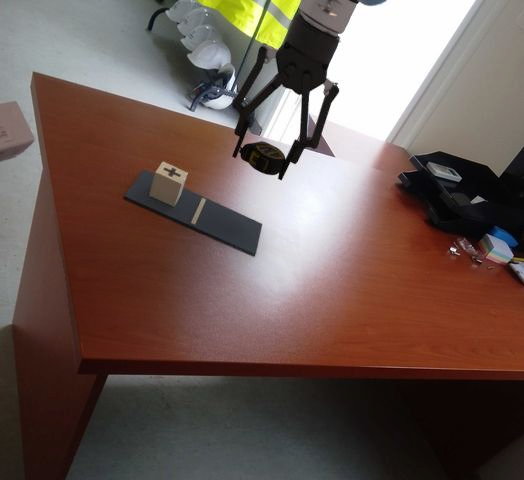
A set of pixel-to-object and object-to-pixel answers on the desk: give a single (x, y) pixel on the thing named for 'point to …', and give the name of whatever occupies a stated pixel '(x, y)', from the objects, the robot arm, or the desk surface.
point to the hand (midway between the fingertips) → (257, 165)
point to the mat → (199, 215)
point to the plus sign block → (168, 184)
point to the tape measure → (263, 157)
